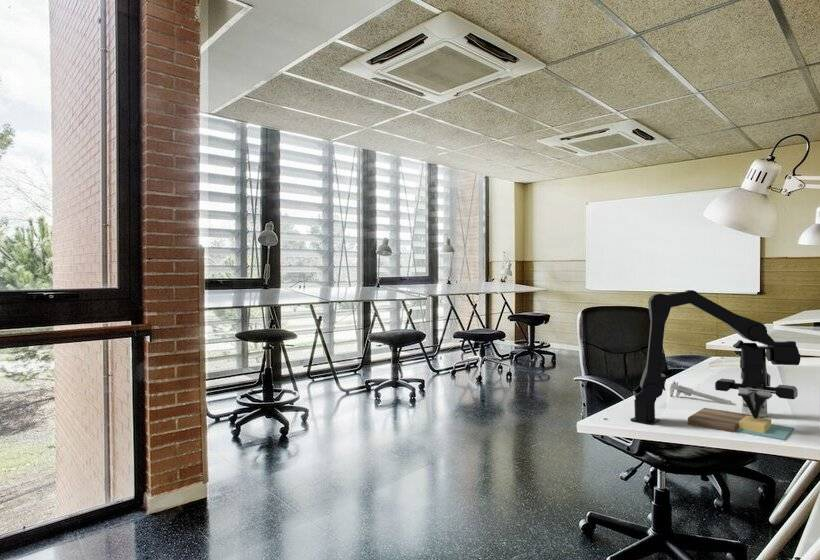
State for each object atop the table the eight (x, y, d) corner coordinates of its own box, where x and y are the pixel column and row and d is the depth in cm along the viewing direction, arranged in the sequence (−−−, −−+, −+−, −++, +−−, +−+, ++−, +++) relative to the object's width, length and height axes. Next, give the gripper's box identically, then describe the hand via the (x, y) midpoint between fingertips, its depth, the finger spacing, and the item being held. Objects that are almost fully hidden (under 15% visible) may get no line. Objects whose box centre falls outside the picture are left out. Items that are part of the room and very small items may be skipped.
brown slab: (734, 432, 134) (734, 425, 134) (687, 424, 143) (687, 417, 143) (749, 420, 145) (748, 414, 145) (704, 413, 154) (704, 407, 154)
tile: (764, 433, 132) (764, 425, 132) (738, 428, 136) (738, 421, 136) (771, 426, 138) (771, 419, 138) (746, 422, 142) (746, 415, 142)
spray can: (739, 415, 151) (737, 352, 152) (744, 411, 156) (742, 350, 156) (765, 419, 146) (763, 354, 147) (769, 414, 151) (767, 351, 152)
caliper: (670, 397, 178) (669, 380, 178) (670, 397, 179) (670, 380, 179) (735, 406, 164) (734, 387, 164) (735, 405, 164) (735, 387, 165)
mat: (784, 440, 126) (784, 438, 126) (737, 432, 134) (737, 430, 134) (794, 429, 136) (794, 427, 136) (750, 421, 144) (750, 420, 144)
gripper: (800, 363, 136) (802, 418, 135) (724, 358, 150) (726, 407, 149) (792, 369, 128) (795, 426, 128) (713, 362, 142) (715, 414, 142)
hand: (755, 418), depth 137 cm, fingers closed
